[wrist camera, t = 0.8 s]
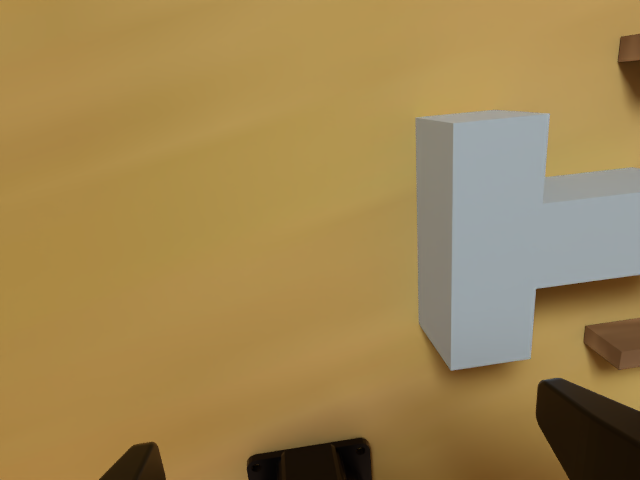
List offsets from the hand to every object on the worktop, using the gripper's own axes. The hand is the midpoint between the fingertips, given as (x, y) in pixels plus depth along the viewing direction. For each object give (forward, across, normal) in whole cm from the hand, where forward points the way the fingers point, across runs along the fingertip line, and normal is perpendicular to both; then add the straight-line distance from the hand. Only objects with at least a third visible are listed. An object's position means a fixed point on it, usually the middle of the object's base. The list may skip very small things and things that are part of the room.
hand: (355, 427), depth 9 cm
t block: (+12, -11, 0) cm, 16 cm away
